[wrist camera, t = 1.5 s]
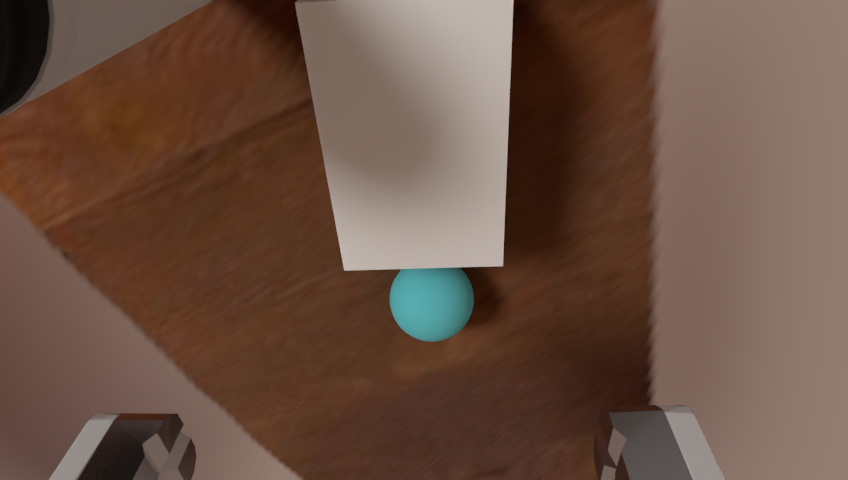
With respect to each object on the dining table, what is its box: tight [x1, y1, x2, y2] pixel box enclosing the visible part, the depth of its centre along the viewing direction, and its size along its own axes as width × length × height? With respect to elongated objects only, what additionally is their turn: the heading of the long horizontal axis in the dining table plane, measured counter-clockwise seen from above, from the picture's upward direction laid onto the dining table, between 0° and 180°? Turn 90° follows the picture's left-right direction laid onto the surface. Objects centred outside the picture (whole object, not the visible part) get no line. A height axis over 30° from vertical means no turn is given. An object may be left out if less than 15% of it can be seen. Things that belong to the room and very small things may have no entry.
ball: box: [390, 267, 474, 341], centre depth 31 cm, size 5×5×5 cm
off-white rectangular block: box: [295, 0, 514, 271], centre depth 23 cm, size 11×7×8 cm, turn 3°
